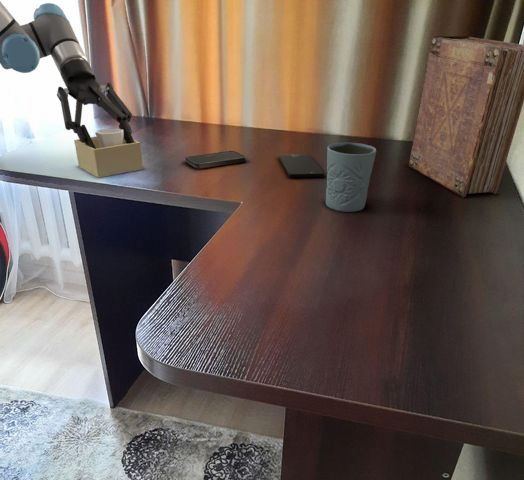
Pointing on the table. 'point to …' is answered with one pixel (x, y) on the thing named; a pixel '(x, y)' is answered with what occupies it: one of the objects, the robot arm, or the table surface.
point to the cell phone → (300, 165)
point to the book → (468, 112)
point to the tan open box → (109, 158)
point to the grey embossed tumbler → (348, 175)
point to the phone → (215, 159)
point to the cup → (109, 137)
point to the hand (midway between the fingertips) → (113, 149)
